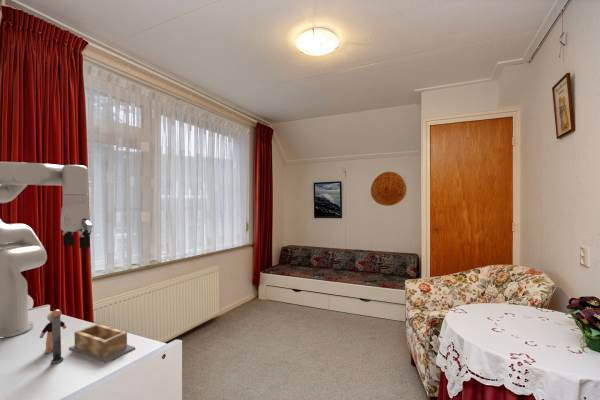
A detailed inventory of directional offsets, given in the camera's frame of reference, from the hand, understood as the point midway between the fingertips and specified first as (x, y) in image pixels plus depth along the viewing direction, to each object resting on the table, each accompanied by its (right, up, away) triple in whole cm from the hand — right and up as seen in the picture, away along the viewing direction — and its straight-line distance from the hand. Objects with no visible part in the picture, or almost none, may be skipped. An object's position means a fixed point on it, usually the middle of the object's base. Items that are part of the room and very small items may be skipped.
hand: (76, 246), depth 109 cm
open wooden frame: (+13, -33, -7) cm, 36 cm away
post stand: (+5, -34, -15) cm, 37 cm away
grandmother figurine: (-2, -34, -7) cm, 34 cm away
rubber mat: (+14, -33, -7) cm, 37 cm away
